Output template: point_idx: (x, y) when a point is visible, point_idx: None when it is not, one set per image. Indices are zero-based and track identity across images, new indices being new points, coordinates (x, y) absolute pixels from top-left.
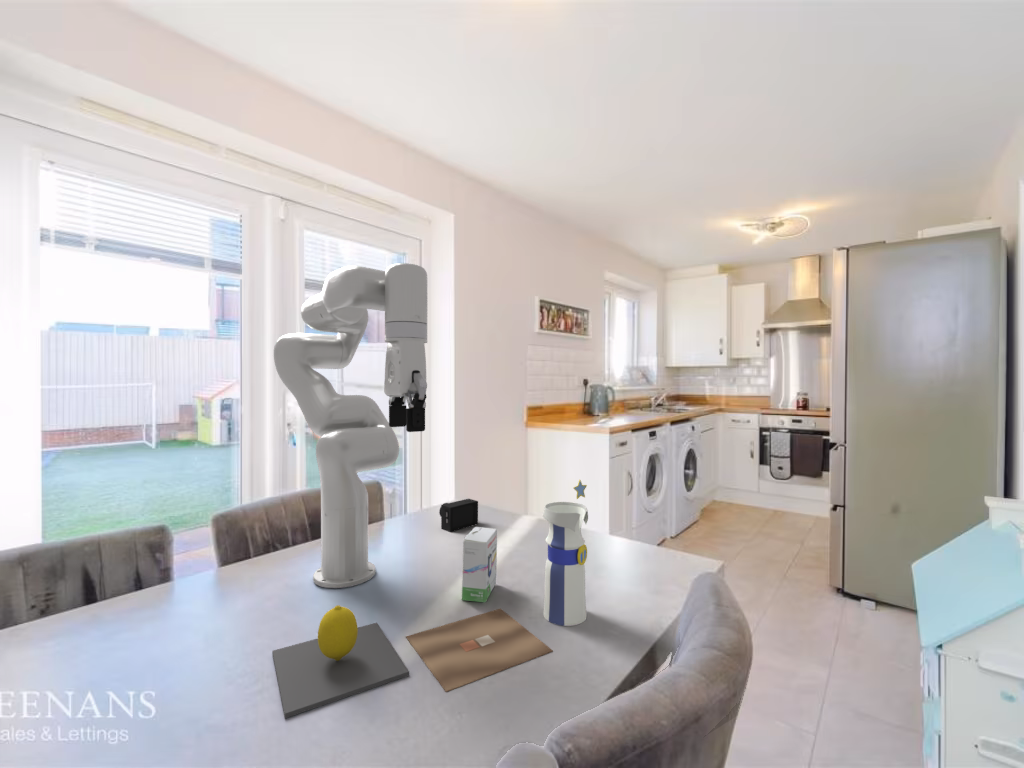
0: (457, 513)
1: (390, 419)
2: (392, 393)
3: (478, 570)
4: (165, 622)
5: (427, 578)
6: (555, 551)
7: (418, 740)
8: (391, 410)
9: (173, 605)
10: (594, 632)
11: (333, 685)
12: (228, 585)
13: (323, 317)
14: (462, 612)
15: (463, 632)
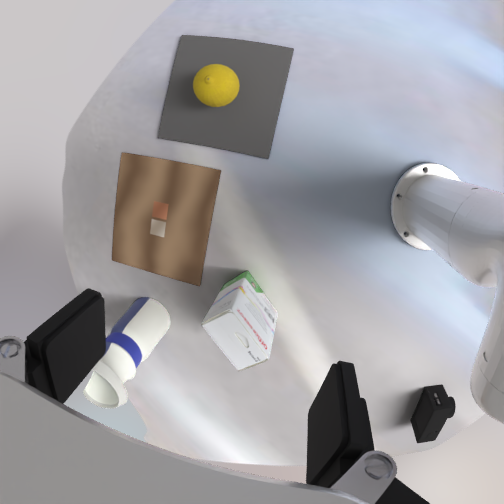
0: (427, 411)
1: (340, 385)
2: (99, 439)
3: (219, 298)
4: (442, 15)
5: (336, 281)
6: (110, 340)
7: (97, 110)
8: (339, 426)
9: (478, 37)
10: (115, 306)
11: (187, 74)
12: (496, 96)
13: None
14: (223, 251)
15: (184, 222)
